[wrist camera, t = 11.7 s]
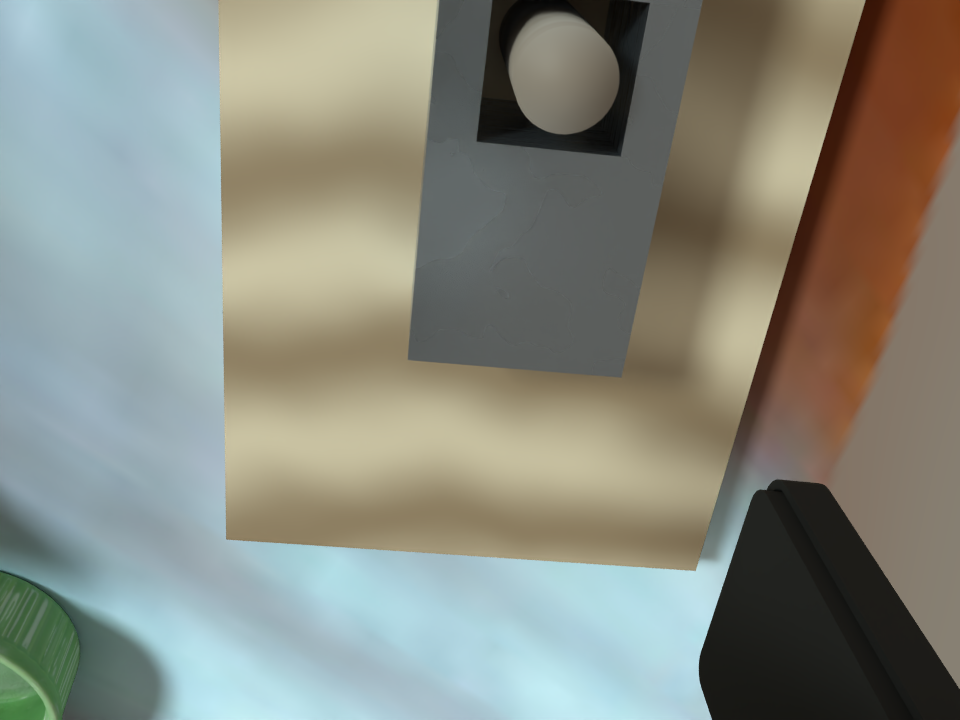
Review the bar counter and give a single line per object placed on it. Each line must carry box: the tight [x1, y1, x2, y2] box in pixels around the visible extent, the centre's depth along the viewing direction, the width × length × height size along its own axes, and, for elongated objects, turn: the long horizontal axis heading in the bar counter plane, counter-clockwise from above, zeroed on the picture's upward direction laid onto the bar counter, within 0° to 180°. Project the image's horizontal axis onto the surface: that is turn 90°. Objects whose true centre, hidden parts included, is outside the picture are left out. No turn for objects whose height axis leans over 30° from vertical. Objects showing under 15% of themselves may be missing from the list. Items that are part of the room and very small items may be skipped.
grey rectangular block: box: [408, 0, 703, 378], centre depth 24 cm, size 16×6×5 cm, turn 173°
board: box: [219, 0, 865, 571], centre depth 27 cm, size 28×18×8 cm, turn 173°
